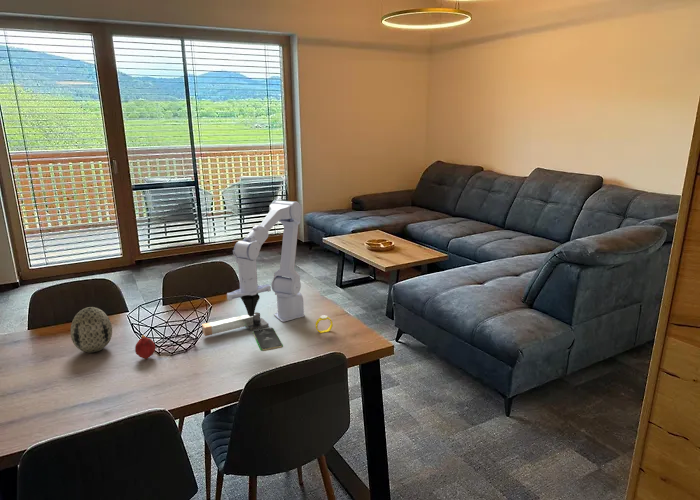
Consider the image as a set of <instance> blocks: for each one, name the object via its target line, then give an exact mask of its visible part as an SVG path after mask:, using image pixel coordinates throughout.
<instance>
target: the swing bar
mask: <svg viewBox="0 0 700 500" xmlns="http://www.w3.org/2000/svg"><path fill="white" fill-rule="evenodd" d="M260 318H261V313H260V312H256V311H255V312H254V316H251V317H250V316H249V315H248V313H247V314H243V315H239V316H234V317H230V318H226V319H221V320H216V321H212V322H206V323H202V324H201V327H202V328H201V329H202V334H203V335H204V337H208V336H212V335H214V334H219V333H222V332H227V331H231V330H236V329H240V328H244V327H245V328H246V326H249V325H253V324H258V323H260V322H261V320H260Z"/></svg>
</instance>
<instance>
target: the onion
mask: <svg viewBox="0 0 700 500" xmlns="http://www.w3.org/2000/svg"><path fill="white" fill-rule="evenodd" d="M134 348H135V349H134V350H135V354H136V355H138V357H140V358H142V359H143V360H148V359H149V358H151V356H153V355H154V353H155V351H156V343H155V342H154V340H152V339H151V338H149V337H146V336H145V335H144V334H142V336H141V338H140V339H139V340H138V341H137V342H136V344H135V346H134Z"/></svg>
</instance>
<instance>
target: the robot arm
mask: <svg viewBox="0 0 700 500" xmlns="http://www.w3.org/2000/svg"><path fill="white" fill-rule="evenodd" d="M268 210H269V211H268V213H267V214H266V216H265V217H264V219H263V220H262V221H261V223H260V224H258V225H254V226H253V227H252V229H250V231H249V232H248V234H246V236H245V237H244V238H243V239H242V240H238V241H237V242H236V243H235V244H234V247H233V250H232V254H233V256H234V258H235V260H236V264H237V266H238V268H237V269H238V278H239V288H238V289H236V290H233V291H231V292H227V293H226V299H227V300H228V301H232V300H236V299H240V300H241V301H242V303H243V304H244V306H245V309H246V312H247V314H248V315H249V316H250V317H251V316H254V313H256V307H257V304H258V302H259V301H260V295H259V294H260V293H261V294H262V293H265V292H267V293H268V292H271V291H273V292H274V295H275V296H276V302H277V303H276V304H277V307H276V308H277V312H276V313H273V316H274V317H275V318H277V319H278V320H279V321H281V322H282V323H284V322H287V321H288V322H289V321H291V320H295V319H300V318H303V317H305V311H304V309H305V308H304V297H303V295H302V293H301V292H300V291H301V287H302V284H301V275H300V273H298V272H297V271H296V270H295V263H296V255H297V246H298V245H297V243H298V233H299V225H301V219H302V211H303V209H302V206H301V204H300V203H299V202H298V201H292V200H291V201H290V200H280V199H274V200H273V201H272V202H271V203H270V204H269V207H268ZM278 222H279V223H281V225H282V226H283V232H282V233H283V234H282V245H281V255H280V264H279V265H280V266H279V269H277V270H276V271H274V273H273V277H272V280H271V282H270V283H271V284H269V283H267V284H260V285H258V284H259V283H258V271H257V258H258V257H259V254H260V250H261V248H262V245H263V244H264V243H265V242H266V240H267V239H268V238H269V232H270V230H271V229H272V228H273V227H274V226H275V225H277V223H278Z"/></svg>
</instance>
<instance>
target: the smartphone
mask: <svg viewBox="0 0 700 500" xmlns="http://www.w3.org/2000/svg"><path fill="white" fill-rule="evenodd" d="M252 334H253V336H254V339H255V341H256V343H257V346H258V348H259V349H260V351H269V350H274V349H280V348H282V347H284V344H283V342H282V341H281V339H280V337H279V335H278V333H277V331H276V330H275V328H273V327H265V328H260V329H257V330H253V331H252Z"/></svg>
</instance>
